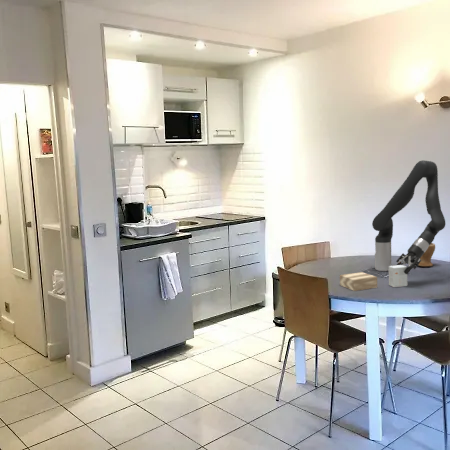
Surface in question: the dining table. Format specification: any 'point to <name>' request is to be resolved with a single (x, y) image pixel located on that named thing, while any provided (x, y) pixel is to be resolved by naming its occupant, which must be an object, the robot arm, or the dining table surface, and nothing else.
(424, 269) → the dining table surface
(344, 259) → the dining table surface
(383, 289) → the dining table surface
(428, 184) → the robot arm
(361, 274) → the oak block
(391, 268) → the small box
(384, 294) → the dining table surface
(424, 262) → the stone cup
